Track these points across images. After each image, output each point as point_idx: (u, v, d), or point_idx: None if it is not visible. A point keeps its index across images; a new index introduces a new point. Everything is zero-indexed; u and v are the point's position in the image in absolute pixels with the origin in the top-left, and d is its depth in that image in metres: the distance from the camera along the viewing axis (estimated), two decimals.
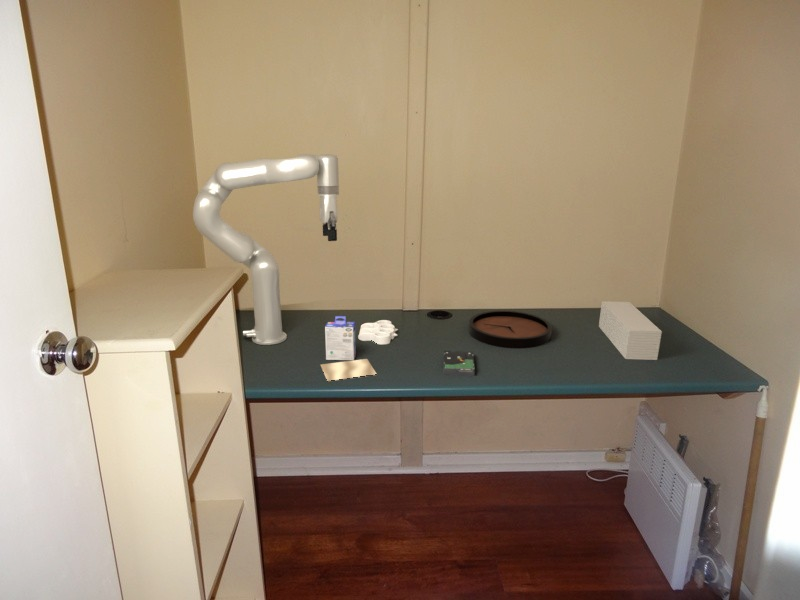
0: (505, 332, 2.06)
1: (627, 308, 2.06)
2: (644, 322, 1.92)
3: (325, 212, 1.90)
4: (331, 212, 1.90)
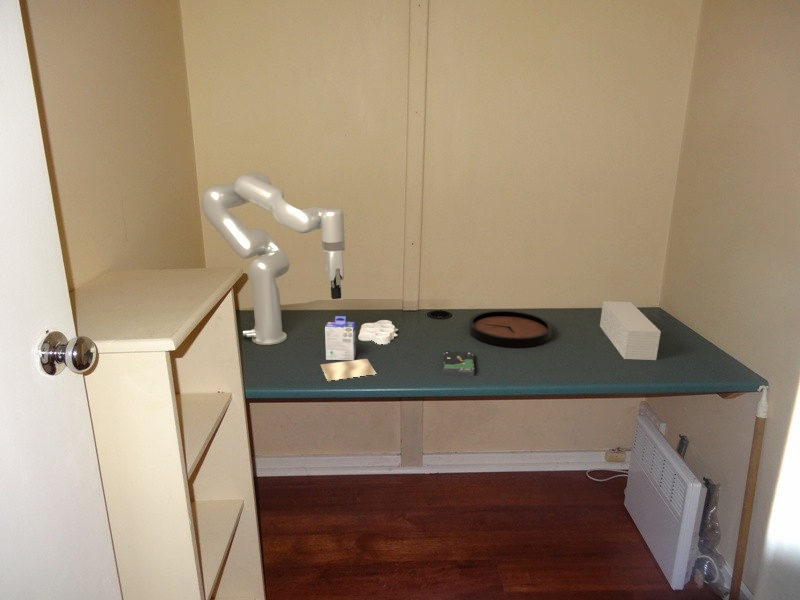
0: (505, 332, 2.06)
1: (628, 309, 2.06)
2: (644, 322, 1.92)
3: (331, 270, 1.80)
4: (337, 272, 1.81)
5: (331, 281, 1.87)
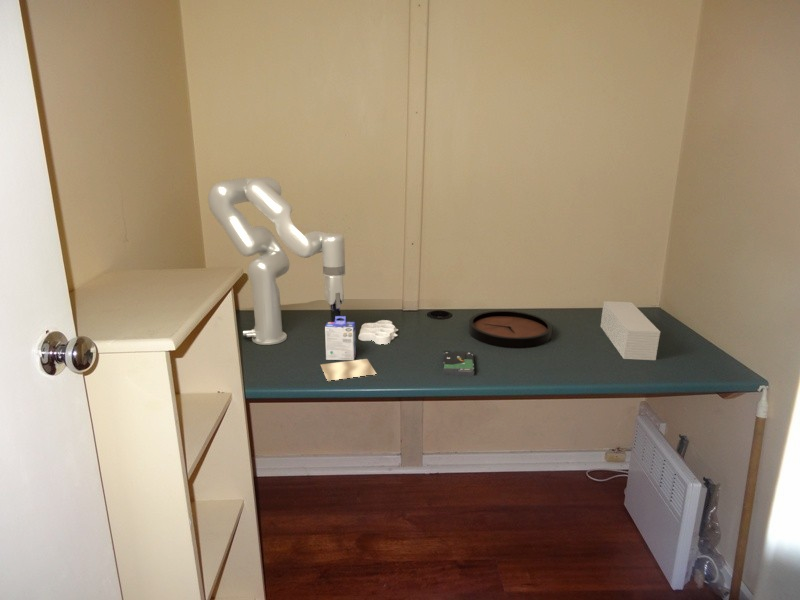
0: (505, 332, 2.06)
1: (628, 309, 2.06)
2: (644, 322, 1.92)
3: (331, 294, 1.82)
4: (337, 296, 1.84)
5: None
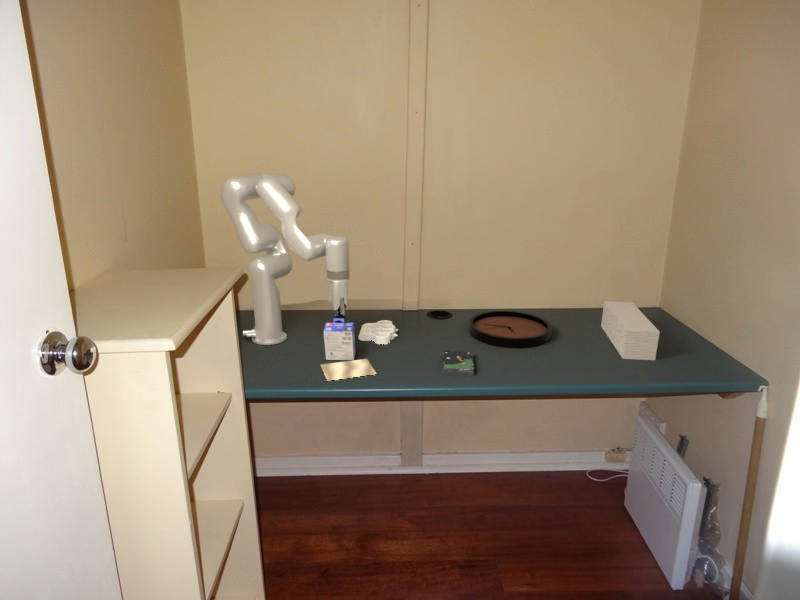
0: (505, 332, 2.06)
1: (628, 309, 2.06)
2: (643, 322, 1.92)
3: (335, 299, 1.76)
4: (341, 301, 1.78)
5: (335, 309, 1.83)
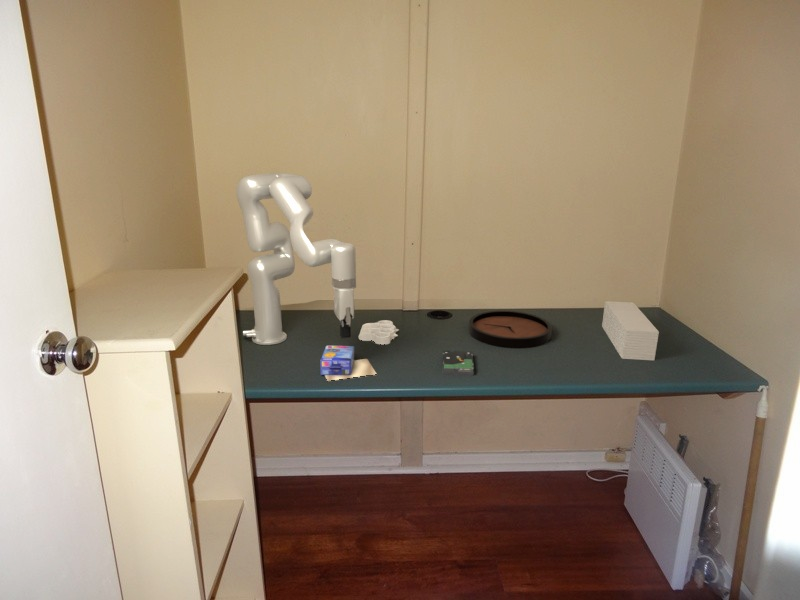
0: (505, 332, 2.06)
1: (629, 309, 2.05)
2: (643, 322, 1.92)
3: (341, 308, 1.68)
4: (347, 311, 1.69)
5: None
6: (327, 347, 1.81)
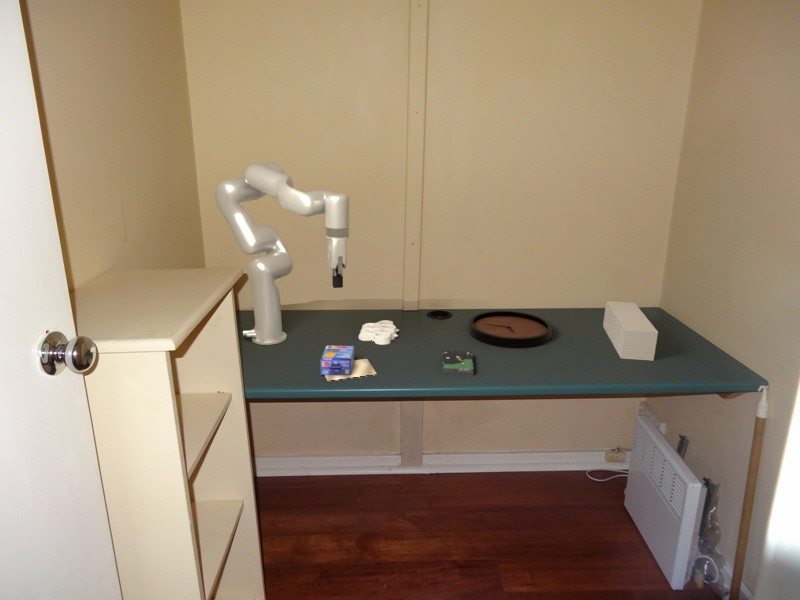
0: (505, 332, 2.06)
1: (630, 309, 2.05)
2: (643, 322, 1.92)
3: (333, 257, 1.71)
4: (339, 260, 1.73)
5: (333, 269, 1.78)
6: (327, 347, 1.81)
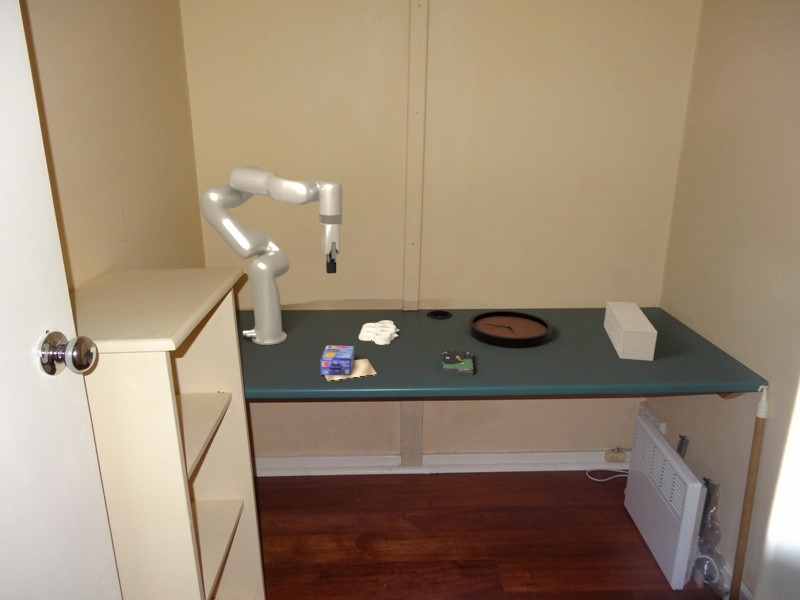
0: (505, 332, 2.06)
1: (630, 309, 2.05)
2: (643, 322, 1.92)
3: (327, 243, 1.77)
4: (333, 246, 1.79)
5: (327, 255, 1.84)
6: (327, 347, 1.81)
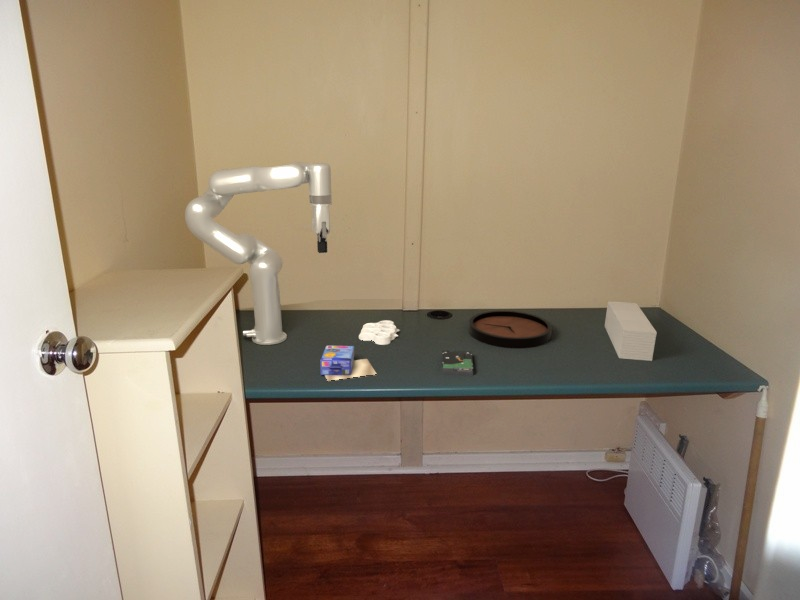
0: (505, 332, 2.06)
1: (631, 309, 2.05)
2: (642, 322, 1.91)
3: (317, 222, 1.84)
4: (323, 225, 1.85)
5: (318, 235, 1.91)
6: (327, 347, 1.81)
